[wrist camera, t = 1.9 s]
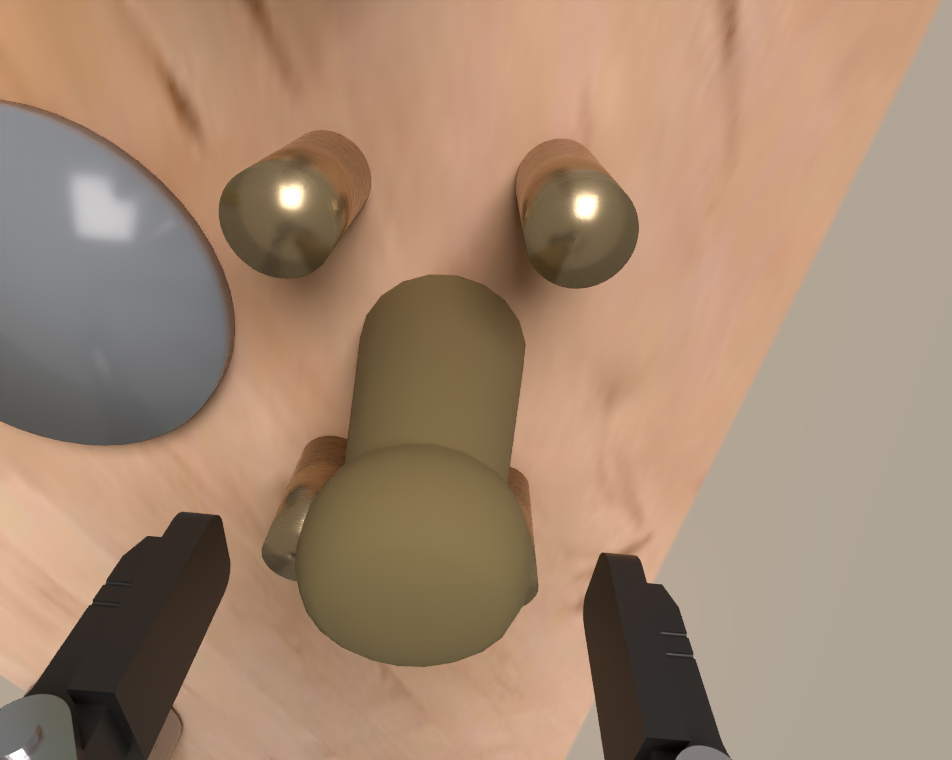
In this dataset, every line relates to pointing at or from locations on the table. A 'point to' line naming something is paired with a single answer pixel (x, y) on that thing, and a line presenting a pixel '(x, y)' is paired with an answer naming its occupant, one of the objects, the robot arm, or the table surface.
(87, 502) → the table surface
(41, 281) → the slate coaster
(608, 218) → the cylinder
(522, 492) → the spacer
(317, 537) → the cork
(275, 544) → the cylinder
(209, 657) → the table surface
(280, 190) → the cylinder
